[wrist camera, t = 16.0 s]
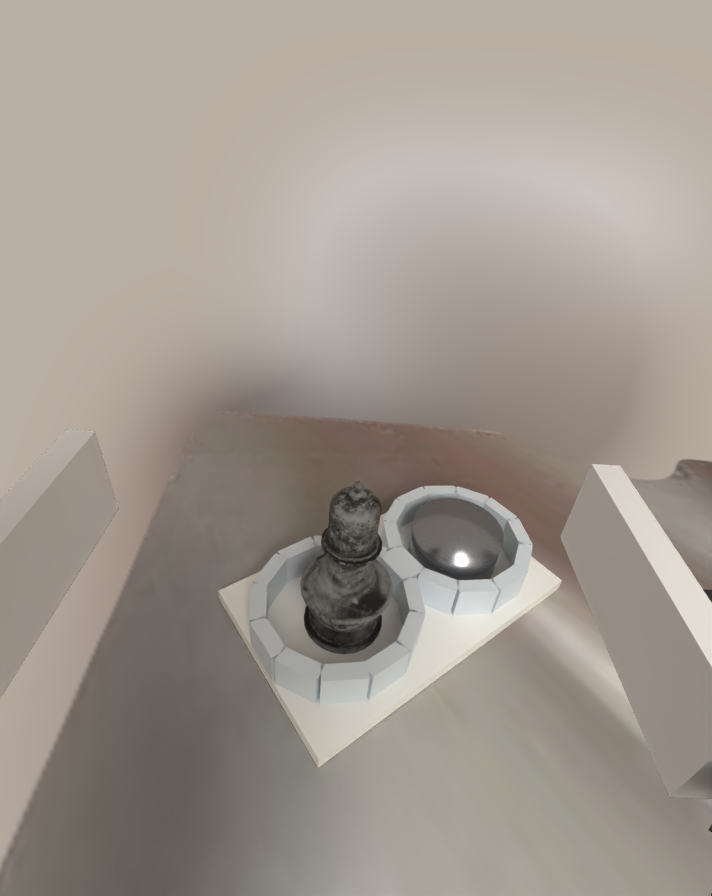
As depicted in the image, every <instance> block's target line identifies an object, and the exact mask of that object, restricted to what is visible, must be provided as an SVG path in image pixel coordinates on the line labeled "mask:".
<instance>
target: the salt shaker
mask: <svg viewBox="0 0 712 896" xmlns="http://www.w3.org/2000/svg"><path fill="white" fill-rule="evenodd" d="M380 515H381V504H380V501H379V499H378V498H377V497H376V495H375V494H374V493H372V492H371V491H370V490H368V489H365V488H364V486H363V485H362V483H360V481H357V482H356V483H355V484H353V485H352V487H347V488H344V489H341V490H340V491H338V492H337V493H336V494H335V495H334V496H333V498H332V500H331V503H330V512H329V526H328V528H327V529H326V530H325V531H324V533H323V534H322V538H321V546H322V549H323V551H324V553H323V554H321V555H320V556H318V557H316V558H314V559H313V560H312V561H311V562H310V563H309V564H308V565H307V567H306V568H305V570H304V572H303V574H302V578H301V583H300V586H301V595H302V597H303V599H304V601H305V604H306V605H307V606H306V608H305V613H304V624H305V628H306V631H307V633H308V635H309V637H310V638H311V639H312V640H313V641H314V643H316V644H317V645H318V646H320V647H321V648H323V649H325V650H327V651H330V652H332V653H338V654H350V653H356V652H359V651H361V650H364V649H365V648H367V647H368V646H370V645H371V644H372V643H373V642H374V641H375V639H376V638H377V637H378V635H379V632H380V629H381V626H382V616H381V614H382V613H383V612H384V611H385V609H386V608H387V607H388V606H389V603H390V600H391V598H392V593H393V584H392V581H391V577H390V575H389V573H388V572H387V570H386V568H385V567H384V566H383V565H382V564H381V563H380V562H379V561H378V560H377V559H376V558H377V557H378V556H379V555H380V553H381V550H382V540H381V537H380V535H379V534H378V528H379V522H380Z"/></svg>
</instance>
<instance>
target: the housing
mask: <svg viewBox="0 0 712 896" xmlns="http://www.w3.org/2000/svg"><path fill="white" fill-rule="evenodd" d="M488 497H489V496H486V495H483V494H480V493H477V492H474V491H471V490H468V489H465V488H462V487H458V486H457V488H455V486H424V487H419V488H417V489H415V490H412V491H410V492H408V493H406V494H403V495H401V496H399V497H397V499H395V500H394V502H393V504H392V505H391V507H390V509H389V511H388V512H386V513H384V514H382V515H380V522H379V528H378V534H379V535H380V537H381V540H382V550H381V553H380V555H379V556H378V557H377V558H376V559H377V560H378V561H379V562H380V563H381V564H382V565H383V566H384V567H385V568H386V570H387V572H388V573H389V575H390V577H391V581H392V584H393V593H392V598H391V600H390V603H389V606H388V607H387V608H386V609H385V611H384V612H383V613H382V614H381V616H382V626H381V629H380V632H379V635H378V637H377V638H376V639H375V641H374V642H373V643H372V644H371V645H370V646H368V647H367V648H365V649H364V650H361V651H359V652H356V653H350V654H338V653H332V652H330V651H327V650H325V649H323V648H321V647H320V646H318V645H317V644H316V643H314V641H313V640H312V639H311V638H310V637H309V635H308V633H307V631H306V628H305V624H304V613H305V608H306V606H307V605H306V604H305V601H304V599H303V597H302V595H301V586H300V583H301V578H302V574H303V572H304V570H305V568H306V567H307V565H308V564H309V563H310V562H311V561H312V560H313V559H314V558H316V557H318V556H320V555H321V554H323V553H324V551H323V549H322V546H321V538H322V536H314V537H313V539H312V538H311V537H308V538H306V539H303V540H301V541H299V542H297V543H295V544H292V545H290V546H288V547H286V548H284V549H281V550H279V551H278V554H276V553H275V554H274V555H273V556H272V557H271V559H270V560H269V561H268V563H267V564H266V565H265V566H264V568H263V569H262V570H261V571H259V572H257V573H255V574H253V575H251V576H249V577H246V578H244V579H242V580H240V581H238V582H236V583H234V584H231V585H229V586H227V587H225V588H223V589H221V590H218V592H219V600H220V601H221V603H222V605H223V606H224V608H225V610H226V612H227V613H228V615H229V617H230V618H231V620H232V622H233V623H234V625H235V627H236V629H237V630H238V632H239V634H240V635H241V637H242V639H243V641H244V642H245V644H246V646H247V647H248V649H249V651H250V652H251V654H252V656H253V658H254V659H255V661H256V663H257V664H258V666H259V668H260V669H261V671H262V673H263V675H264V676H265V678H266V680H267V681H268V683H269V685H270V687H271V688H272V690H273V692H274V693H275V695H276V697H277V698H278V700H279V702H280V704H281V705H282V707H283V709H284V710H285V712H286V714H287V715H288V717H289V719H290V721H291V722H292V724H293V726H294V727H295V729H296V731H297V733H298V734H299V736H300V738H301V739H302V741H303V743H304V744H305V746H306V748H307V750H308V751H309V753H310V755H311V756H312V758H313V760H314V762H315V763H316V765H317V767H318V768H319V767H320V766H321V765H323V764H324V763H325V762H327V761H328V760H329V759H331V758H332V757H333V756H335V755H336V754H338V753H339V752H340V751H342V750H343V749H344V748H346V747H347V746H348V745H350V744H351V743H352V742H354V741H355V740H356V739H358V738H359V737H360V736H362V735H363V734H364V733H366V732H367V731H368V730H370V729H371V728H372V727H374V726H375V725H376V724H378V723H379V722H380V721H382V720H383V719H384V718H386V717H387V716H388V715H390V714H391V713H392V712H394V711H395V710H396V709H398V708H399V707H400V706H402V705H403V704H405V703H406V702H407V701H409V700H410V699H411V698H413V697H414V696H415V695H417V694H418V693H419V692H421V691H422V690H423V689H425V688H426V687H427V686H429V685H430V684H431V683H433V682H434V681H435V680H437V679H438V678H439V677H441V676H442V675H443V674H445V673H446V672H447V671H449V670H450V669H451V668H453V667H454V666H455V665H457V664H458V663H459V662H461V661H462V660H463V659H465V658H466V657H467V656H469V655H470V654H471V653H473V652H474V651H476V650H477V649H478V648H480V647H481V646H482V645H484V644H485V643H486V642H488V641H489V640H490V639H492V638H493V637H494V636H496V635H497V634H498V633H500V632H501V631H502V630H504V629H505V628H506V627H508V626H509V625H510V624H512V623H513V622H514V621H516V620H517V619H518V618H520V617H521V616H522V615H524V614H525V613H526V612H528V611H529V610H530V609H532V608H533V607H534V606H536V605H537V604H538V603H540V602H541V601H543V600H544V599H545V598H547V597H548V596H549V595H551V594H552V593H553V592H555V591H556V590H557V589H558V588H559V586H560V584H561V582H562V580H561V579H559V578H558V577H557V576H555V575H554V574H553V573H552V572H550V571H549V570H548V569H547V568H545V567H544V566H543V565H542V564H540V563H539V562H538V561H536V560H535V559H534V558H533V557H531V553H532V547H533V546H532V542H531V540H530V539H529V537H528V535H527V533H526V531H525V529H524V527H523V526H522V524H521V522H520V520H519V519H516V518H517V516H515V515H514V514H513V513H511V512H510V511H509V510H507V509H506V508H505V507H503V506H502V505H501V504H499V503H498V502H497V501H495V500H494V499H492V498H489V499H488ZM439 498H457V499H462V500H466V501H469V502H472V503H474V504H476V505H479V506H480V507H482V508H484V509H485V510H487V511H488V512H489V513H490V514H492V515H493V516H494V517H495V518H496V520H497V521H498V522H499V524H500V526H501V528H502V530H503V534H504V542H503V546H502V548H501V551H500V554H499V557H498V560H497V562H496V565H495V568H494V571H493V573H492V575H491V577H490V579H482V580H456V579H453V578H451V577H448V576H445V575H443V574H440V573H437V572H435V571H432V570H430V569H427V568H424V567H423V566H422V565H421V564H420V563H419V562H418V561H417V560H416V559H415V558H414V557H413V556H412V555H411V554H410V553H409V552H408V545H409V540H410V535H411V530H412V525H413V520H414V516H415V513H416V511H417V510H418V509H419V508H420V506H422V505H423V504H425V503H426V502H428V501H431V500H434V499H439Z"/></svg>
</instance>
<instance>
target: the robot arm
mask: <svg viewBox="0 0 712 896" xmlns="http://www.w3.org/2000/svg"><path fill="white" fill-rule="evenodd" d="M118 509H119V507H118V504H117V501H116V498H115V495H114V491H113V488H112V485H111V482H110V478H109V475H108V472H107V469H106V465H105V462H104V459H103V456H102V452H101V449H100V446H99V443H98V440H97V437H96V433H95V431H81V430H65V431H64V432H63V433H62V434H61V435H60V436H59V437H58V438H57V440H56V441H55V442H54V443H53V444H52V445H51V446H50V447H49V448H48V449H47V450H46V451H45V452H44V453H43V454H42V456H41V457H40V458H39V459H38V460H37V461H36V462H35V463H34V464H33V465H32V466H31V467H30V468H29V470H28V471H27V472H26V473H25V474H24V475H23V476H22V477H21V478H20V479H19V480H18V481H17V482H16V483H15V484H14V486H13V487H12V488H11V489H10V490H9V491H8V492H7V493H6V494H5V495H4V496H3V497H2V498H1V499H0V698H1V696H2V695H3V694H4V692H5V690H6V688H7V687H8V686H9V684H10V682H11V681H12V679H13V678H14V676H15V674H16V673H17V671H18V669H19V668H20V666H21V664H22V663H23V661H24V660H25V658H26V657H27V655H28V653H29V652H30V650H31V649H32V647H33V645H34V644H35V642H36V641H37V639H38V637H39V636H40V634H41V633H42V631H43V629H44V628H45V626H46V625H47V623H48V621H49V620H50V618H51V617H52V615H53V613H54V611H55V610H56V608H57V607H58V605H59V604H60V602H61V601H62V599H63V597H64V596H65V594H66V593H67V591H68V589H69V588H70V586H71V585H72V583H73V581H74V580H75V578H76V577H77V575H78V573H79V572H80V570H81V568H82V567H83V565H84V564H85V562H86V560H87V559H88V557H89V556H90V554H91V553H92V551H93V549H94V548H95V546H96V544H97V543H98V541H99V540H100V538H101V537H102V535H103V533H104V532H105V530H106V528H107V527H108V525H109V524H110V522H111V520H112V518H113V517H114V516H115V514H116V512H117V511H118ZM560 538H561V540H562V543H563V545H564V547H565V550H566V552H567V555H568V557H569V559H570V562H571V564H572V566H573V569H574V571H575V574H576V576H577V578H578V581H579V583H580V585H581V588H582V590H583V593H584V595H585V597H586V600H587V602H588V604H589V607H590V609H591V612H592V614H593V616H594V619H595V621H596V623H597V626H598V628H599V631H600V633H601V635H602V638H603V640H604V642H605V645H606V647H607V650H608V652H609V654H610V657H611V659H612V661H613V664H614V666H615V669H616V671H617V673H618V676H619V678H620V680H621V683H622V685H623V688H624V690H625V692H626V695H627V697H628V699H629V702H630V704H631V707H632V709H633V711H634V714H635V716H636V719H637V721H638V723H639V726H640V728H641V730H642V733H643V735H644V738H645V740H646V742H647V745H648V747H649V749H650V752H651V754H652V757H653V759H654V761H655V764H656V766H657V768H658V771H659V773H660V776H661V778H662V780H663V783H664V785H665V787H666V790H667V792H668V795H669V797H683V798H699V799H711V798H712V590H704V589H702V588H701V586H700V585H699V583H698V582H697V580H696V579H695V577H694V576H693V574H692V573H691V571H690V570H689V568H688V567H687V565H686V564H685V562H684V561H683V559H682V558H681V556H680V555H679V553H678V552H677V550H676V549H675V547H674V545H673V544H672V542H671V541H670V539H669V538H668V536H667V535H666V533H665V532H664V530H663V529H662V527H661V526H660V524H659V523H658V521H657V520H656V518H655V517H654V515H653V514H652V512H651V511H650V509H649V508H648V506H647V505H646V503H645V502H644V500H643V499H642V497H641V496H640V494H639V493H638V491H637V490H636V488H635V487H634V485H633V484H632V482H631V481H630V479H629V478H628V476H627V475H626V474H625V472H624V470H623V469H622V468H621V466H616V465H601V464H592V465H591V467H590V469H589V471H588V474H587V476H586V478H585V481H584V483H583V485H582V488H581V490H580V492H579V494H578V497H577V499H576V501H575V504H574V506H573V508H572V511H571V513H570V515H569V518H568V520H567V522H566V525H565V527H564V529H563V532H562V534H561V536H560ZM709 831H711V832H712V825H711V826H710V828H709ZM711 896H712V894H711Z"/></svg>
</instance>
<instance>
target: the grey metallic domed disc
mask: <svg viewBox="0 0 712 896" xmlns="http://www.w3.org/2000/svg"><path fill="white" fill-rule="evenodd" d="M503 542H504V534H503V530H502V528H501V526H500V524H499V522H498V521H497V520H496V518H495V517H494V516H493V515H492V514H490V513H489V512H488V511H487V510H485V509H484V508H482V507H480V506H479V505H476V504H474V503H472V502H469V501H466V500H462V499H457V498H439V499H434V500H431V501H428V502H426V503H425V504H423V505H422V506H420V508H419V509H418V510H417V511H416V513H415V516H414V520H413V525H412V530H411V535H410V540H409V545H408V552H409V553H410V554H411V555H412V556H413V557H414V558H415V559H416V560H417V561H418V562H419V563H420V564H421V565H422V566H423V567H424V568H427V569H430V570H432V571H435V572H437V573H440V574H443V575H445V576H448V577H451V578H453V579H456V580H482V579H490V577H491V575H492V573H493V571H494V568H495V565H496V562H497V560H498V557H499V554H500V551H501V548H502V546H503Z"/></svg>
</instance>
